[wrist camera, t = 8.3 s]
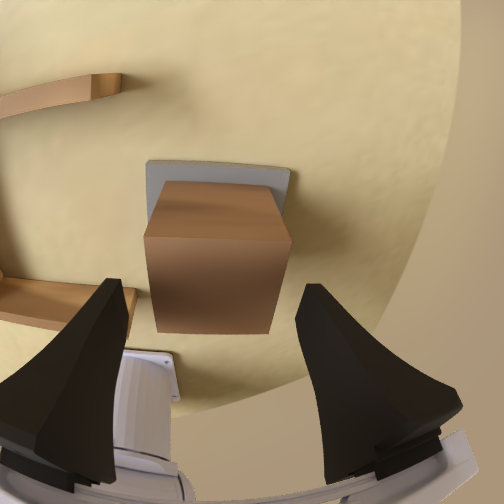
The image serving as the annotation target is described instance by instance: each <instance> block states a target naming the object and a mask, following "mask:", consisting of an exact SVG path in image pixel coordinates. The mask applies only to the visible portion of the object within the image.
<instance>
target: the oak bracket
mask: <svg viewBox="0 0 504 504" xmlns="http://www.w3.org/2000/svg"><path fill="white" fill-rule="evenodd" d="M120 88H121V73H109V74H91V75H85V76H79V77H73V78H68V79H63V80H58V81H54V82H50V83H45V84H41V85H37V86H34V87H30V88H27V89H23V90H20V91H17V92H13V93H10V94H7V95H4V96H1V97H0V119H2V118H5V117H9V116H13V115H16V114H20V113H24V112H28V111H33V110H37V109H42V108H47V107H52V106H57V105H63V104H69V103H75V102H82V101H90V100H94V99H97V98H101V97H105V96H109V95H113V94H117V93H120ZM98 287H99V286H94V285H81V284H69V283H58V282H47V281H37V280H28V279H19V278H10V277H4V275H3V273H2V271H1V268H0V320H4V321H8V322H13V323H17V324H22V325H27V326H32V327H37V328H43V329H48V330H54V331H61V330H62V329H63V328H64V327H65V326H66V325H67V324H68V323H69V321H70V320H71V319H72V318H73V317H74V316H75V315H76V313H77V312H78V311H79V310H80V309H81V307H82V306H83V305H84V304H85V303H86V302H87V300H88V299H89V298H90V297H91V296H92V294H93V293H94V292H95V291H96V290H97V288H98ZM123 291H124V296H125V300H126V304H127V308H128V312H129V323H128V331H127V338H126V340H128V338H129V333H130V328H131V324H132V319H133V315H134V310H135V306H136V302H137V295H136V290H135V288H124V287H123Z"/></svg>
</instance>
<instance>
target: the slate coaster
mask: <svg viewBox="0 0 504 504" xmlns="http://www.w3.org/2000/svg"><path fill="white" fill-rule="evenodd" d="M289 178H290V171H289V169H288V168H281V167H271V166H261V165H249V164H236V163H221V162H201V161H166V160H148V161H147V163H146V195H147V214H148V223H149V221H150V218H151V215H152V213H153V210H154V208H155V205H156V203H157V200H158V198H159V195H160V193H161V191H162V188H163V186H164V183H165V181H194V182H217V183H235V184H250V185H264V186H268V187H269V189H270V192H271V194H272V196H273V198H274V201H275V203H276V205H277V207H278V210H279V212H280V214H281V217H282V213H283V208H284V203H285V198H286V193H287V188H288V183H289Z"/></svg>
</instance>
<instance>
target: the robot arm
mask: <svg viewBox="0 0 504 504" xmlns="http://www.w3.org/2000/svg"><path fill="white" fill-rule="evenodd" d="M295 322H296V328H297V333H298V339H299V343H300V346H301V349H302V352H303V356H304V359H305V362H306V365H307V368H308V371H309V374H310V378H311V380H312V384H313V387H314V391H315V395H316V400H317V406H318V412H319V418H320V425H321V432H322V441H323V453H324V477H325V481H326V484H327V485H328V484H332V483H336V482H339V481H343V480H347V479H350V478H353V477H355V478H353V479H350V480H347V481H343V482H340V483H336V484H333V485H329V486H325V487H321V488H317V489H312V490H307V491H303V492H297V493H292V494H286V495H281V496H274V497H265V498H257V499H246V500H231V501H196V497H195V492H194V489H193V486H192V484H191V482H190V480H189V479H188V478H187V477H186V475H185V474H184V473H183V472H181V471H179V470H178V469H177V468H178V467H177V463H175V462H171V454H170V452H171V449H170V435H171V434H170V433H171V432H170V431H171V401H172V402H178V401H180V394H179V389H178V384H177V378H176V373H175V367H174V361H173V356H172V355H171V354H170V353H164V352H148V351H136V350H125V349H124V347H125V343H126V338H127V331H128V323H129V312H128V308H127V304H126V300H125V296H124V291H123V287H122V282H121V279H113V278H106V279H105V280H104V281H103V283H102V284H101V285H100V286H99V287H98V288H97V290H96V291H95V292H94V293H93V294H92V296H91V297H90V298H89V299H88V300H87V302H86V303H85V304H84V305H83V306H82V307H81V309H80V310H79V311H78V312H77V313H76V315H75V316H74V317H73V318H72V319H71V320H70V321H69V323H68V324H67V325H66V326H65V327H64V328H63V329H62V330H61V331H60V333H59V334H58V335H57V336H56V337H55V338H54V339H53V340H52V341H51V342H50V343H49V344H48V345H47V346H46V347H45V348H44V349H43V350H42V351H40V352H39V353H38V354H37V355H36V356H35V357H34V358H32V359H31V360H30V361H29V362H28V363H26V364H25V365H24V366H23V367H22V368H20V369H19V370H18V371H16V372H15V373H14V374H13V375H11V376H10V377H8V378H7V379H5V380H4V381H3V382H1V383H0V445H1V446H2V450H1V452H0V504H320V503H324V502H328V501H332V500H335V499H339V498H342V497H343V498H342V499H341V501H340V503H339V504H439V503H440V502H442V501H443V500H444V499H445V498H446V497H448V496H449V495H450V494H451V493H453V492H454V491H455V490H456V489H457V488H459V487H460V486H461V485H462V484H464V483H465V482H466V481H467V480H469V479H470V478H471V477H472V476H474V475H475V474H476V473H477V472H478V471H479V469H478V466H477V463H476V460H475V458H474V455H473V452H472V450H471V447H470V444H469V442H468V440H467V437H466V435H465V432H464V430H463V428H461V429H459V430H457V431H456V432H454V433H452V434H450V435H449V436H447V437H445V438H443V439H442V440H439V437H438V435H440V434H441V429H440V426H441V425H442V424H444V423H445V422H447V421H448V420H449V419H451V418H452V417H453V416H455V415H456V414H457V413H458V412H459V411H460V410H461V409H462V407H463V404H462V402H461V400H460V398H459V396H458V394H457V392H456V390H455V389H454V388H452V387H450V386H448V385H446V384H443V383H441V382H439V381H437V380H435V379H433V378H431V377H429V376H427V375H425V374H424V373H422V372H420V371H419V370H417V369H415V368H414V367H412V366H410V365H409V364H408V363H406V362H405V361H403V360H402V359H400V358H399V357H397V356H396V355H395V354H393V353H392V352H391V351H389V350H388V349H387V348H386V347H385V346H383V345H382V344H381V343H380V342H378V341H377V340H376V339H375V338H374V337H373V336H372V335H371V334H370V333H368V332H367V331H366V330H365V329H364V328H363V327H362V326H361V325H360V324H359V323H358V322H357V321H356V320H355V319H354V318H353V317H352V316H351V315H350V314H349V313H348V312H347V311H346V310H345V309H344V308H343V307H342V305H341V304H340V303H339V302H338V301H337V300H336V299H335V298H334V297H333V296H332V295H331V294H330V293H329V292H328V291H327V290H326V288H325V287H324V286H323V285H322V284H306V287H305V290H304V293H303V296H302V299H301V302H300V305H299V308H298V311H297V314H296V317H295Z"/></svg>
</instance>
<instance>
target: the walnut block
mask: <svg viewBox="0 0 504 504" xmlns="http://www.w3.org/2000/svg"><path fill="white" fill-rule="evenodd" d="M291 245H292V240H291V238H290V235H289V233H288V231H287V228H286V226H285V224H284V221H283V219H282V217H281V214H280V212H279V210H278V207H277V205H276V203H275V201H274V198H273V196H272V194H271V192H270V189H269V187H268V186H264V185H250V184H235V183H217V182H194V181H165V183H164V186H163V188H162V191H161V193H160V195H159V198H158V200H157V203H156V205H155V208H154V210H153V213H152V215H151V218H150V221H149V223H148V226H147V229H146V231H145V234H144V246H145V255H146V263H147V271H148V278H149V285H150V292H151V298H152V304H153V310H154V316H155V322H156V327H157V332H158V333H179V334H269V331H270V327H271V323H272V320H273V316H274V312H275V308H276V305H277V301H278V297H279V293H280V289H281V285H282V281H283V278H284V274H285V270H286V266H287V262H288V258H289V254H290V249H291Z"/></svg>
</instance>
